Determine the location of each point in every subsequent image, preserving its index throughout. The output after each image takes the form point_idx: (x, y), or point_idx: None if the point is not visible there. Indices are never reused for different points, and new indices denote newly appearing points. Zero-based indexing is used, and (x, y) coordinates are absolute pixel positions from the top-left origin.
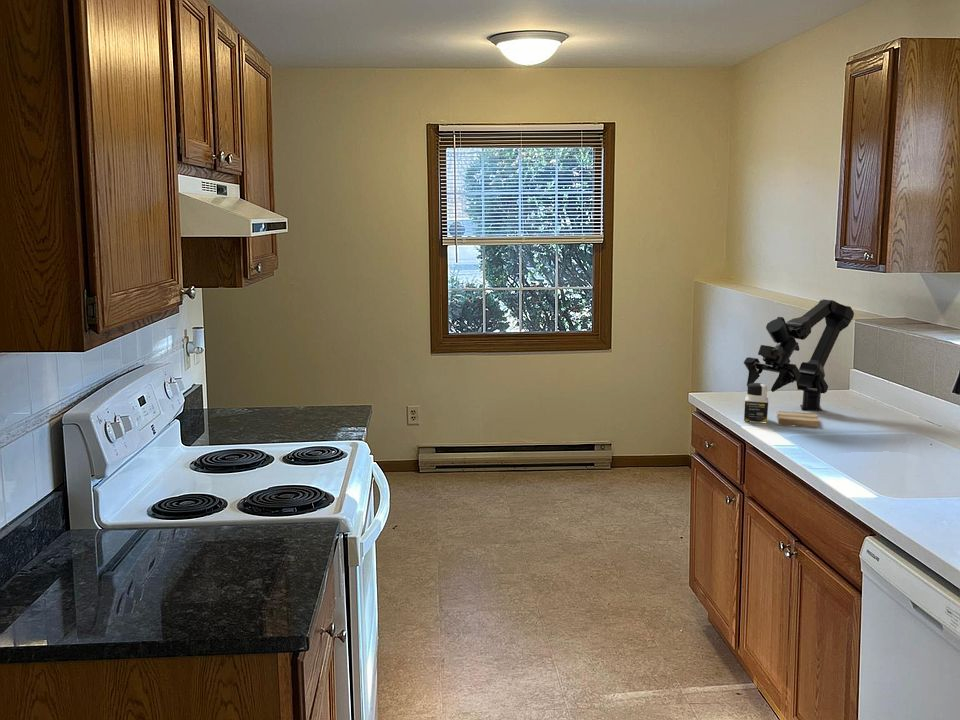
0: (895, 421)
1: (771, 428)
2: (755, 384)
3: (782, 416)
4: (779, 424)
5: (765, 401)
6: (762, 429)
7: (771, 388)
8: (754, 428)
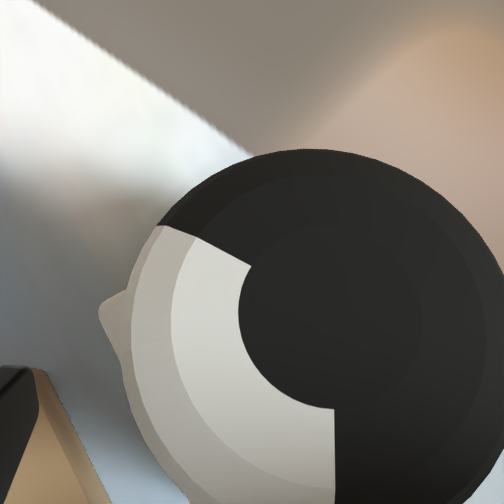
0: None
1: (45, 226)
2: (317, 216)
3: (40, 497)
4: (39, 371)
5: (123, 291)
6: (81, 156)
7: (12, 378)
8: (136, 142)
